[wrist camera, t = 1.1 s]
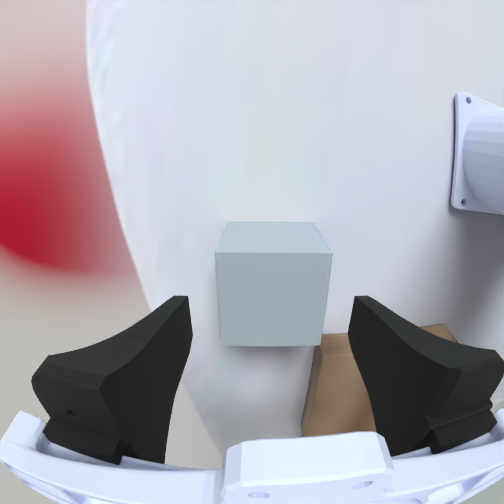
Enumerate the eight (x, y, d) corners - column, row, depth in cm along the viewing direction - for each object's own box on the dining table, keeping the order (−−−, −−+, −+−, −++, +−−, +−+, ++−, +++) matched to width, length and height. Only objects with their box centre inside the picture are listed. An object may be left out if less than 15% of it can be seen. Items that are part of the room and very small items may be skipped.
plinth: (443, 324, 19) (457, 341, 17) (404, 410, 23) (412, 428, 21) (317, 334, 20) (323, 357, 17) (300, 423, 24) (303, 444, 21)
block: (312, 222, 17) (332, 252, 12) (306, 297, 19) (320, 345, 14) (227, 221, 17) (214, 252, 12) (229, 296, 19) (221, 345, 14)
